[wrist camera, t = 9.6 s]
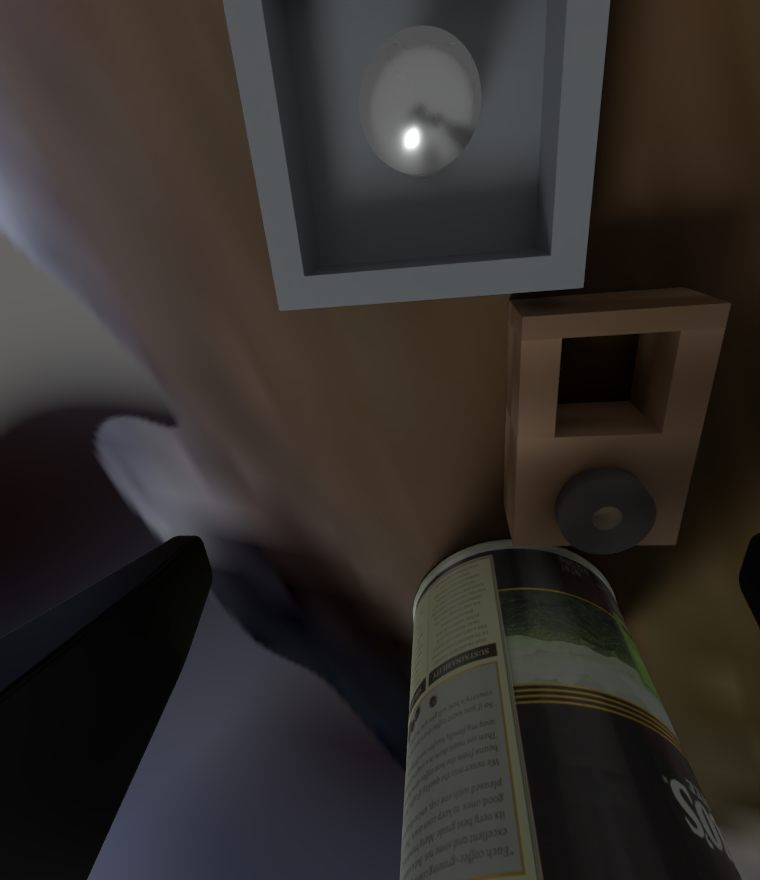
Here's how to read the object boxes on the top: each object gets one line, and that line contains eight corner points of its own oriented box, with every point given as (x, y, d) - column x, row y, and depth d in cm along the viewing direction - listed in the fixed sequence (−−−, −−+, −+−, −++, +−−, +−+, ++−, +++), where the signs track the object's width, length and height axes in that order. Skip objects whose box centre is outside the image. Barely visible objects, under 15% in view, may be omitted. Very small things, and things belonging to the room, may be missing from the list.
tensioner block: (644, 500, 21) (688, 562, 17) (503, 503, 21) (516, 563, 18) (683, 286, 17) (751, 309, 13) (508, 299, 17) (527, 324, 14)
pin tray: (559, 274, 17) (583, 287, 14) (302, 295, 18) (279, 310, 15) (586, -96, 13) (626, -176, 10) (249, -36, 14) (206, -92, 11)
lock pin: (465, 173, 15) (482, 166, 10) (389, 183, 16) (366, 182, 10) (462, 78, 14) (480, 13, 9) (380, 91, 15) (351, 38, 9)
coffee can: (601, 516, 21) (846, 970, 9) (626, 669, 25) (816, 1129, 13) (385, 557, 24) (328, 962, 11) (439, 692, 28) (444, 1098, 15)
